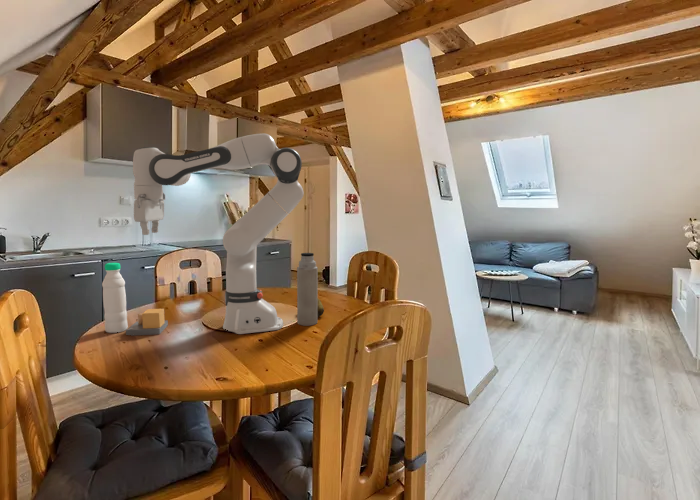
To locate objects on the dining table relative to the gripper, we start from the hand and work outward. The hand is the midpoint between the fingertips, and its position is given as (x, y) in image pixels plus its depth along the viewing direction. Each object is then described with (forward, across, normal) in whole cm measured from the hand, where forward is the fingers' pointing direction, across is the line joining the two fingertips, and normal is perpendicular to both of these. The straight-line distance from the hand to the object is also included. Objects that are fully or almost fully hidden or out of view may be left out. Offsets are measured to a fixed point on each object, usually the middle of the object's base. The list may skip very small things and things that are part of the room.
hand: (150, 233), depth 134 cm
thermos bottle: (+36, +1, -56) cm, 67 cm away
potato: (+36, +12, -59) cm, 70 cm away
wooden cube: (+34, -1, 0) cm, 34 cm away
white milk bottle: (+36, +2, +14) cm, 39 cm away
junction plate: (+36, 0, +3) cm, 36 cm away
